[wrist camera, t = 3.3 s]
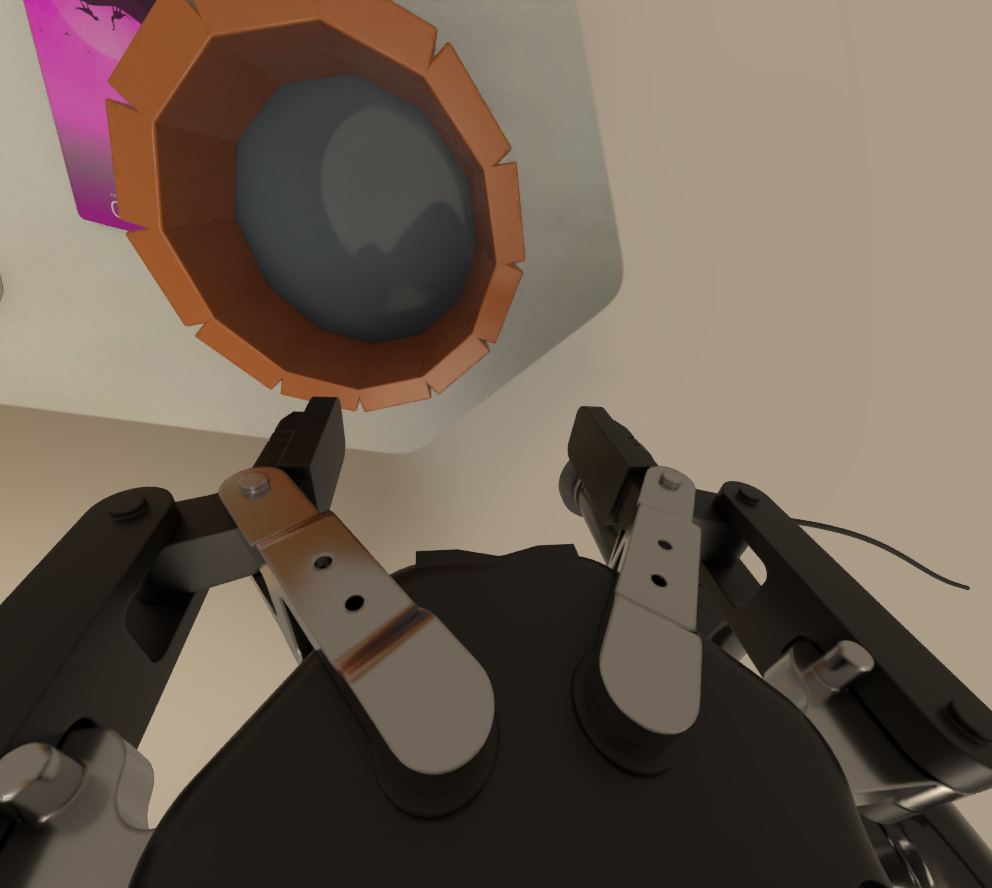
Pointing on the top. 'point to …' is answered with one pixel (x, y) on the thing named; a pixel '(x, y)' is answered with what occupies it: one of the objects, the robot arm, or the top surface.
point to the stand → (354, 208)
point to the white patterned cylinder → (0, 288)
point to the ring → (212, 170)
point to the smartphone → (85, 89)
